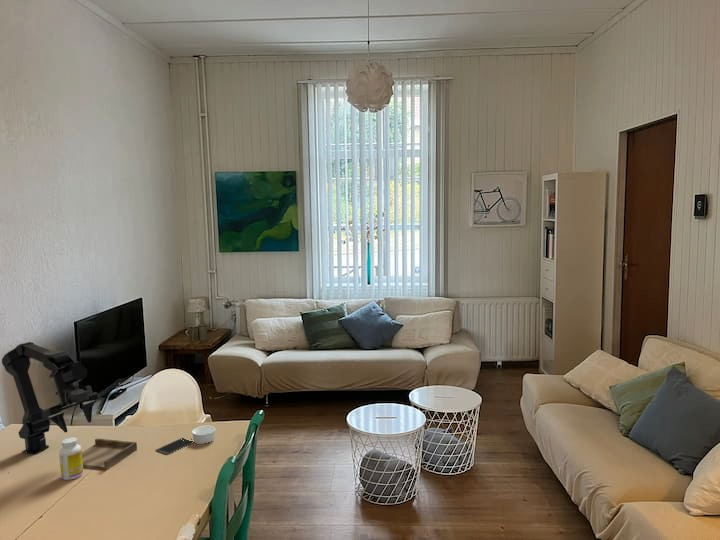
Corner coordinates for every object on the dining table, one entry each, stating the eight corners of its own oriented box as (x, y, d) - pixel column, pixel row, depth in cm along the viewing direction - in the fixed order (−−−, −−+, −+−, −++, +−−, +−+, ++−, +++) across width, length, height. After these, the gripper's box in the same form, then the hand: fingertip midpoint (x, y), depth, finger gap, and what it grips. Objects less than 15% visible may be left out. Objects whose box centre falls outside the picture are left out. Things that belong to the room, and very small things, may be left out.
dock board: (64, 465, 183) (64, 457, 183) (97, 445, 198) (96, 438, 198) (107, 469, 179) (106, 461, 178) (137, 449, 194) (136, 442, 194)
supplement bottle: (87, 471, 178) (84, 436, 177) (75, 481, 171) (72, 444, 170) (69, 470, 179) (66, 435, 177) (56, 480, 172) (53, 444, 171)
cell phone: (197, 442, 201) (196, 440, 201) (167, 456, 189) (167, 454, 189) (184, 438, 205) (184, 436, 205) (154, 451, 193) (154, 450, 193)
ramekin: (220, 438, 203) (220, 428, 203) (203, 447, 196) (202, 436, 195) (205, 434, 208) (204, 423, 207) (187, 442, 200) (187, 431, 200)
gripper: (53, 389, 172) (66, 433, 171) (101, 373, 189) (114, 413, 188) (34, 396, 177) (48, 439, 176) (83, 380, 194) (96, 419, 193)
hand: (78, 427), depth 183 cm, fingers open, 9 cm apart
